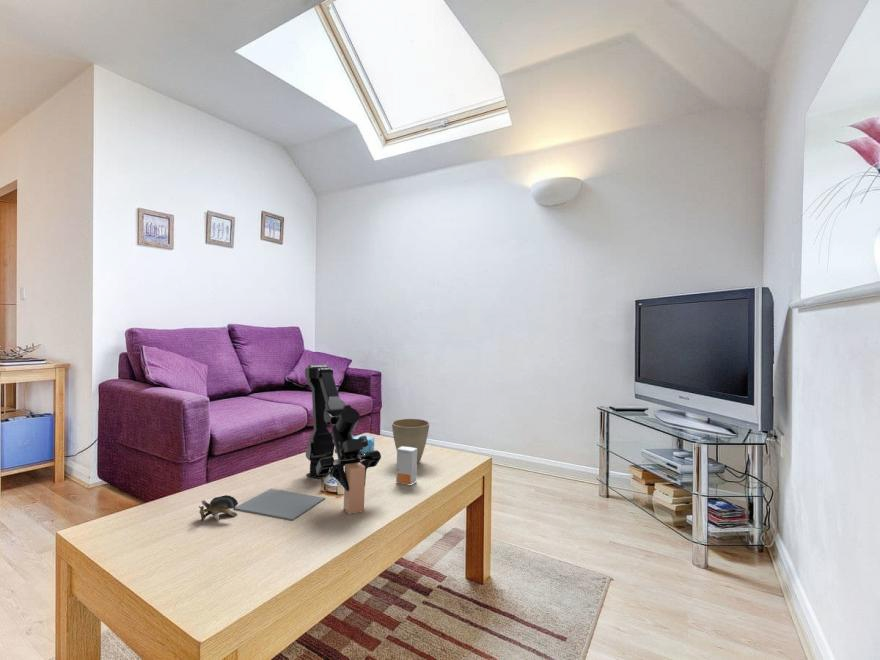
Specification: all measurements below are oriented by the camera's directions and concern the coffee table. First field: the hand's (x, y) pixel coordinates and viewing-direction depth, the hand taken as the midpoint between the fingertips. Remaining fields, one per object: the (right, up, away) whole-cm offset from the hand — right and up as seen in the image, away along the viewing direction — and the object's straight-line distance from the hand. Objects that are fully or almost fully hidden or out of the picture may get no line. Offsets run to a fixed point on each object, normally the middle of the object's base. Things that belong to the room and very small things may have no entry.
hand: (356, 488), depth 125 cm
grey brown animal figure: (-36, -6, -7) cm, 37 cm away
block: (-1, -7, +1) cm, 7 cm away
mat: (-23, -6, +4) cm, 24 cm away
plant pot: (+12, -7, +46) cm, 48 cm away
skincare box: (+13, -7, +24) cm, 28 cm away
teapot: (-9, -6, +58) cm, 59 cm away
